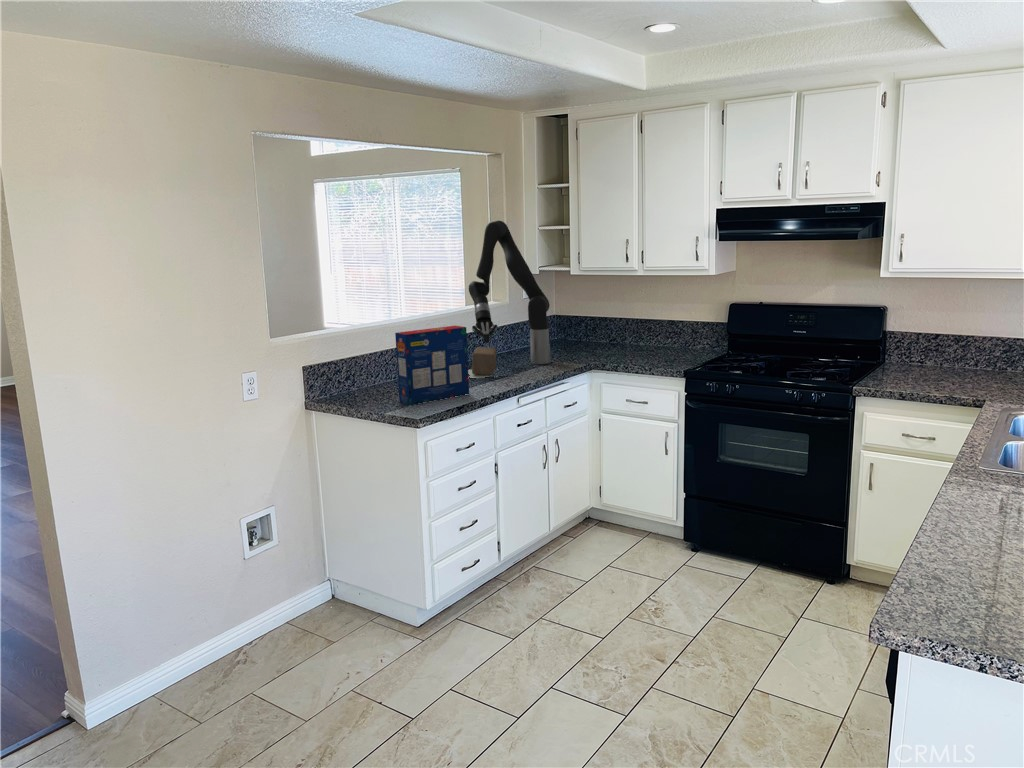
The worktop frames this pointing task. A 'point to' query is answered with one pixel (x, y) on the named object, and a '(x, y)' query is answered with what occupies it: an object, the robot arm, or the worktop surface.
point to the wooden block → (484, 361)
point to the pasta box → (432, 364)
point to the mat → (477, 375)
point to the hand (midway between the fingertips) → (486, 341)
